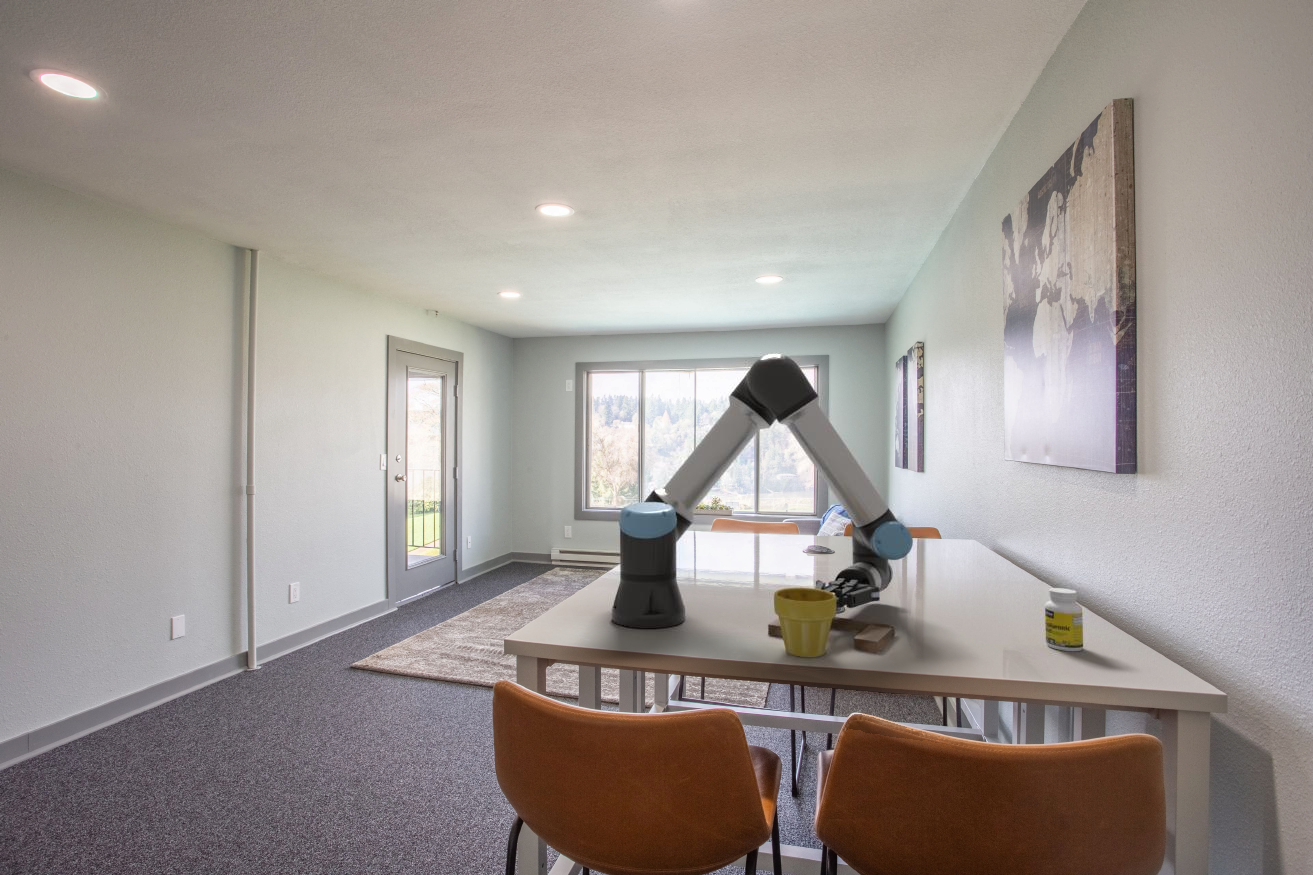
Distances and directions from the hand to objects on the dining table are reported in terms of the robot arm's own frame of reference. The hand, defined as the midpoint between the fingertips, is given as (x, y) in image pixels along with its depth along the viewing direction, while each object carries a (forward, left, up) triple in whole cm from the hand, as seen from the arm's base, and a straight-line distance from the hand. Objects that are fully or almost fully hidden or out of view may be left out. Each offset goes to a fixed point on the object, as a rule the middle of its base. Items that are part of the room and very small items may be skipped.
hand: (819, 606), depth 109 cm
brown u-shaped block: (0, +6, -6) cm, 9 cm away
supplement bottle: (+36, +21, -7) cm, 42 cm away
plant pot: (-1, -5, -7) cm, 9 cm away
